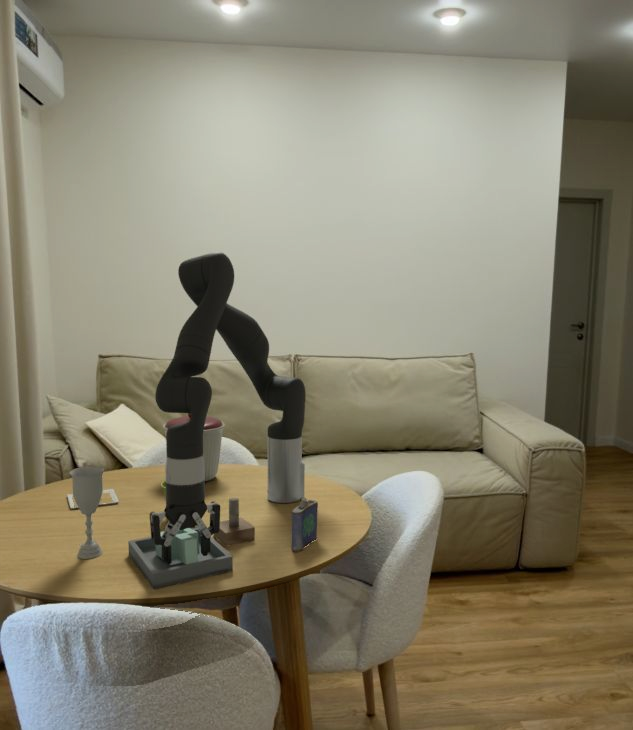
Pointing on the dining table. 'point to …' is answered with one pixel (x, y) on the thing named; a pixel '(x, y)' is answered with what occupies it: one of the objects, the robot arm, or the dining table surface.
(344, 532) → the dining table surface
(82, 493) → the chalice
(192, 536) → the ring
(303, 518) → the flask
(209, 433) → the canister
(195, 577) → the tray
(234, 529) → the brown peg stand
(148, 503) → the dining table surface
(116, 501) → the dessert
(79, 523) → the dining table surface
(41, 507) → the dining table surface
